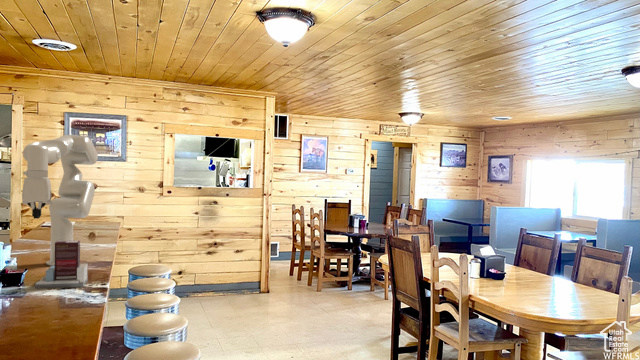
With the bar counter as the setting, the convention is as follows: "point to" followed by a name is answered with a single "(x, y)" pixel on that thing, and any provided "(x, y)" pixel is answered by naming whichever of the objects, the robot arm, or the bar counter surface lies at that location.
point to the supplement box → (66, 260)
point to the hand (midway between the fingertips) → (36, 218)
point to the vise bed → (79, 282)
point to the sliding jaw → (50, 273)
